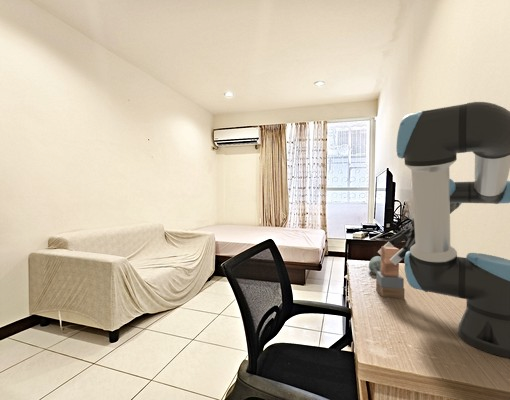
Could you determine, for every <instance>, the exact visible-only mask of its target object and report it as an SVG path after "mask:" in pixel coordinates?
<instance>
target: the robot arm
mask: <svg viewBox="0 0 510 400" xmlns="http://www.w3.org/2000/svg"><path fill="white" fill-rule="evenodd" d="M463 153H473V154H474V181H454V180H453V179H451V178H450V167H451V166H452V165H453V164H454V163H455V162H456V161H457V154H463ZM396 155H397V157H398V158H399V159H401V160H402V159H404V166H406V167H407V168H409V169H410V170H411V171H410V172H411V187H412V203H413V204H412V206H413V219H412V220H410V224H411V226H410V227H409V226H404V228H402V229H401V230H399V231H398V232H397V233H395V234H393V235H392V236H390V237H388V238H387V240H388V242H386V243H385V244H384V245H383V246H387V247H395V246H396V245H397V244H400V243H401V242H404V241H405V240H406V243H405V245H404V246H402V248H401V249H399V251H398V252H397V253H396V254H395V255H394V256H393V257H392V258H391V259H390V261H391V262H392V263H393V264H394V265H396V264H397V263H399V264H400V262H401V261H402V260H403V259H404V260H403V261H404V274H405V278H406V281H407V283H408V284H409V286H410V288H412V289H415V290H419V291H422V292H425V293H434V294H438V295H443V296H446V297H447V296H448V297H454V298H459V299H463V300H465V301H466V308H465V311H464V312H463V314H462V317H461V320H460V322H459V323H458V328H457V329H458V332H457V333H458V335H459V337H460V338H461V340H463V341H464V342H466V343H467V344H468V345H470V346H472V347H474V348H477V349H479V350H481V351H484V352H486V353H488V354H491V355H494V356H498V357H502V358H508V359H510V259H507V258H504V257H500V256H495V255H490V254H486V253H479V252H478V253H477V252H469V253H467V254H466V257H461V256H458V251H457V250H456V248H455V247H452V245H451V214H452V213H453V212H454V211H455V210H457V209H459V207H460V206H461V205H462V204H494V205H498V204H499V205H500V204H510V180H509V179H508V177H509V173H510V110H508V109H507V108H505V107H504V106H501V105H498V104H496V103H491V102H485V101H473V102H467V103H464V104H463V103H462V104H457V105H451V106H445V107H439V108H433V109H427V110H421V111H418V112H414V113H409V114H406V115H405V116H404V117H403V118H402V119H401V121H400V123H399V127H398V131H397V137H396ZM377 253H378V254H379V255H380V256H381V248H379V250H378V251H377Z"/></svg>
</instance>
